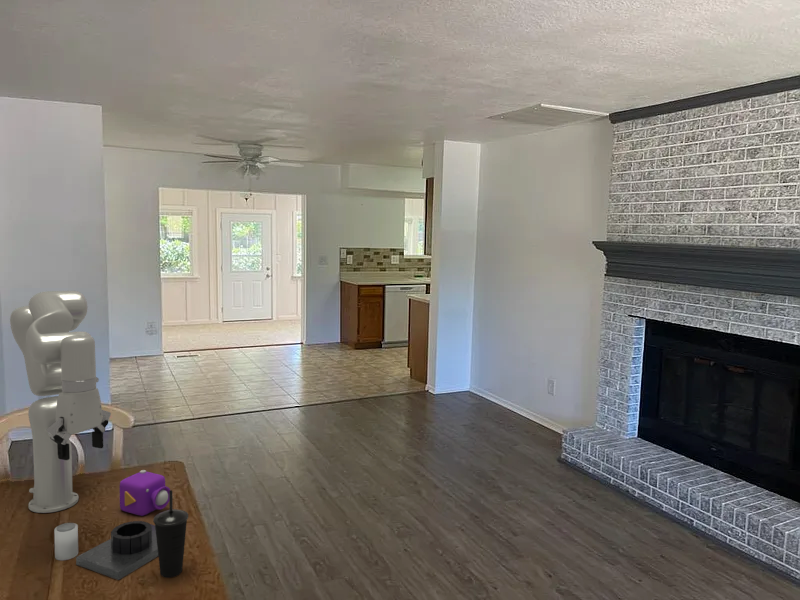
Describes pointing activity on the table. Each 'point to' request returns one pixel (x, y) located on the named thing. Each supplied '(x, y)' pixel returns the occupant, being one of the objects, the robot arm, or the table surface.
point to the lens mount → (122, 550)
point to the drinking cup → (170, 539)
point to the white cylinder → (66, 541)
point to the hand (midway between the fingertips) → (81, 453)
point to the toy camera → (143, 493)
